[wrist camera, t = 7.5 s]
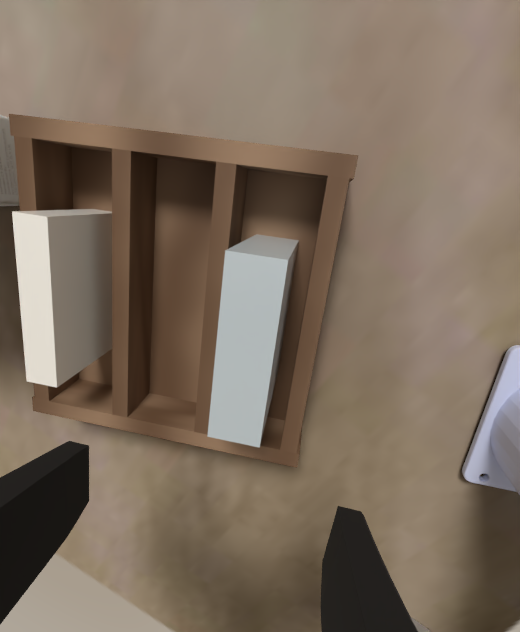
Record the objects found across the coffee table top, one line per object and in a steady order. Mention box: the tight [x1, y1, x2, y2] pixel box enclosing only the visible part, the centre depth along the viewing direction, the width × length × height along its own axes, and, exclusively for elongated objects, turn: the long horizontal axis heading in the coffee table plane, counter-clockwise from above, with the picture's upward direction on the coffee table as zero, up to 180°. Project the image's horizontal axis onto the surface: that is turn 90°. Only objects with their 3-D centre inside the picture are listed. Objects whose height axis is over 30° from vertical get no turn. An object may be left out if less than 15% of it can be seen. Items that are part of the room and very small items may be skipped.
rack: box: [9, 114, 358, 468], centre depth 18 cm, size 14×14×4 cm
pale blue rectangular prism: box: [207, 234, 299, 448], centre depth 15 cm, size 2×7×6 cm, turn 173°
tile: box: [12, 209, 112, 387], centre depth 17 cm, size 1×7×5 cm, turn 173°
